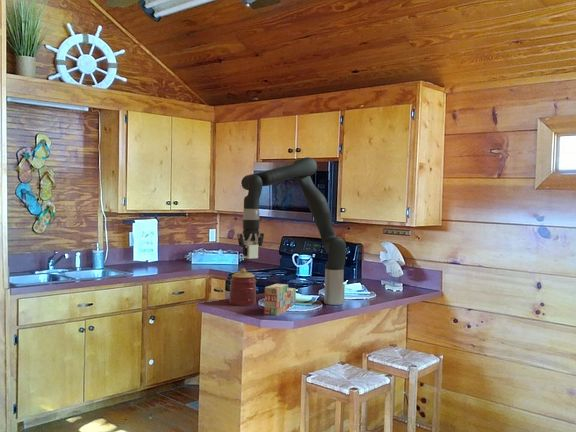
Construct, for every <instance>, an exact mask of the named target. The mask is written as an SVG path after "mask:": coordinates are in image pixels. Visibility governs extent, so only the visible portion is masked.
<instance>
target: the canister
mask: <svg viewBox="0 0 576 432" xmlns="http://www.w3.org/2000/svg"><path fill="white" fill-rule="evenodd" d="M231 277H232V278H230V279H229V282H230V285H229V299H228V301H229V304H230V305H231V306H237V307H252V306H254V305H256V303H257V299H256V297H257V286H256V283H257V279H255V277H256V275H255V274H253V272H249V271H247V270H246V268H241V269H240V271H237V272H234V273H233V274H231Z"/></svg>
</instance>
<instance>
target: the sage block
mask: <svg viewBox="0 0 576 432" xmlns="http://www.w3.org/2000/svg"><path fill="white" fill-rule="evenodd" d="M247 248H248V255H247V256H244V255H243V254H242V259H249V260H251V259H259V247H258V245H254V244H253V243H252V244H251V243H249V244H248V247H247Z"/></svg>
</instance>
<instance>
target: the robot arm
mask: <svg viewBox="0 0 576 432" xmlns="http://www.w3.org/2000/svg"><path fill="white" fill-rule="evenodd" d="M317 169H318V164H317V161H316V160H315V159H314V158H312V157H303V158H298V159H296V160H294V161H293V163H292V164H289V165H285V166H281V167H276V168H275V167H274V168H272V169H267V170H265V171H261V172H257V173H256V172H255V173H251V174H248V175H245V176H243V177H242V179H241V181H240V184H241V186H242V188H243V189H244V190H246V191H247V195H246V196H244V199H243V213H242V233H237V234H236V235H237V240H238V245H239V247H241V248H242V256H243V255H244V256H247V255H248V248H247V247H248V244H251V243H252V244H254V245H258V248H260V247H261V246H263V241H264V238H265V234H264V233H263V232H260V231H259V230H260V199H261V196H262V195H261V194H262V191H263V187H269V186H273V185H276V184H279V183H282V182H285V181H287V180H290V179H293V178H295V179H296V180H297V182H298V184H299V186H300V188H301V190H302V193H303V196H304V197H305V200H306V202H307V204H308V208H309V211H310V213H311V216H312V217H313V218H312V219H313V220H314V223H315V225H316V227H317V229H318V232H319V235H320V240H321V244H322V246H323V250H324V251H325V253H327V254H328V255H327V256H328V257H327V258H328V259H327V261H326V263H325V265H324V266H325V267H324V271H325V272H324V300H323V301H324V304H325V305H333V306H334V305H335V306H337V305H338V306H340V305H343V304H345V290H346V289H345V284H344V272H345V271H344V267H345V264H346V257H347V256H346V255H347V243H346V241H345V240H344V239H343V238H341V237H338V236H337V235H336V233H335V232H336V231H335V230H334V227H333V225H332V224H333V223H332V215H331V214H332V213H331V210H330V206H329V203H328V201H327V198H326V197H325V196H324V194H323V193H322V192H321V191H320V190H319V188H317V186H316V185H315V184H314V182H313V179H312V177H311V176H312V175H315V173H316V172H317Z"/></svg>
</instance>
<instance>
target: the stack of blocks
mask: <svg viewBox="0 0 576 432" xmlns="http://www.w3.org/2000/svg"><path fill="white" fill-rule="evenodd" d="M296 290H297V289H296V288H295V287H294V288H293V287H289V284H285V283H283V284H282V283H275V284H271V285H268V286H265V287H264V306H263V307H264V308H263V309H264V311H263V314H264V315H268V316H269V315H270V316H278V315H281V314H284V313H286V312H288V311H287V309H288V308H289V307H292V306H293V305H294V304H295V303H297V294H296Z"/></svg>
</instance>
